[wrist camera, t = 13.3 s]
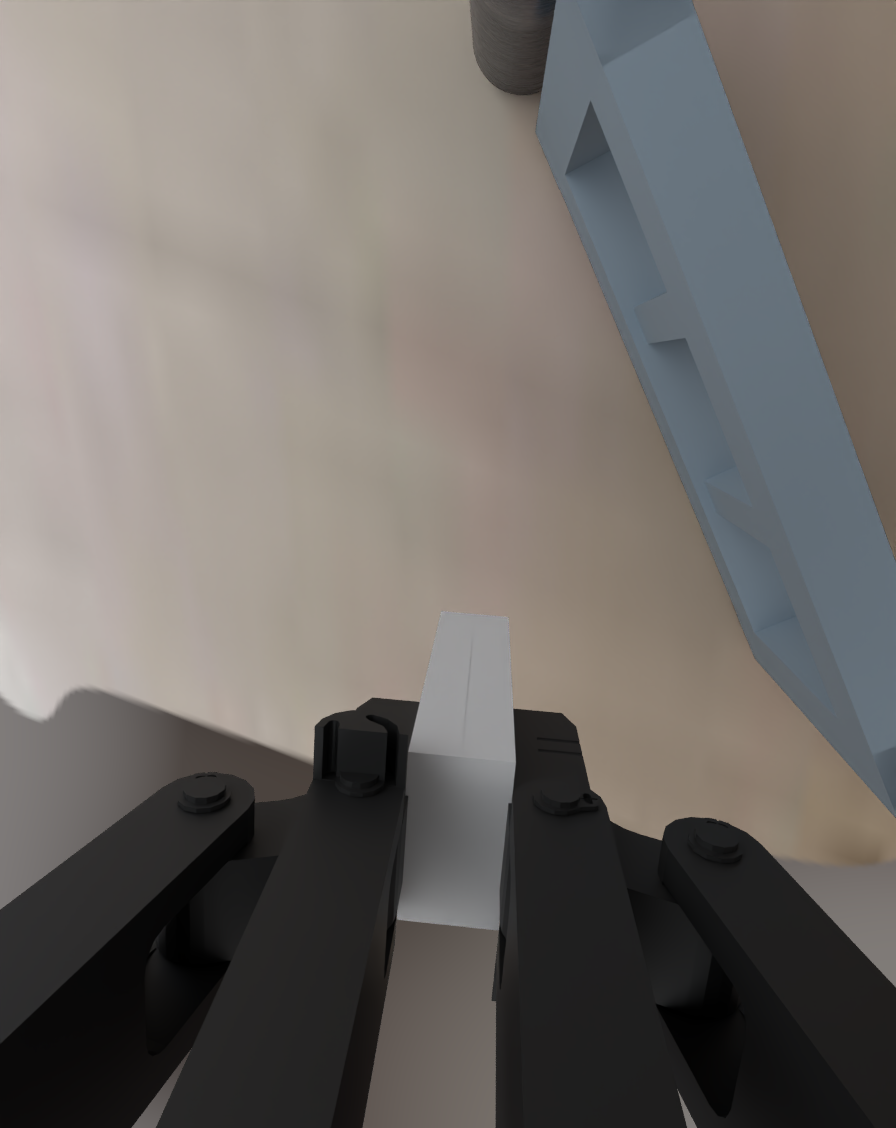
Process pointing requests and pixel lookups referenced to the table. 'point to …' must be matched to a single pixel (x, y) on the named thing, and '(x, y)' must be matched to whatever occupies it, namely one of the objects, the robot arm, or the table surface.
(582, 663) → the table surface
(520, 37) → the hinge post
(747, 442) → the gate
